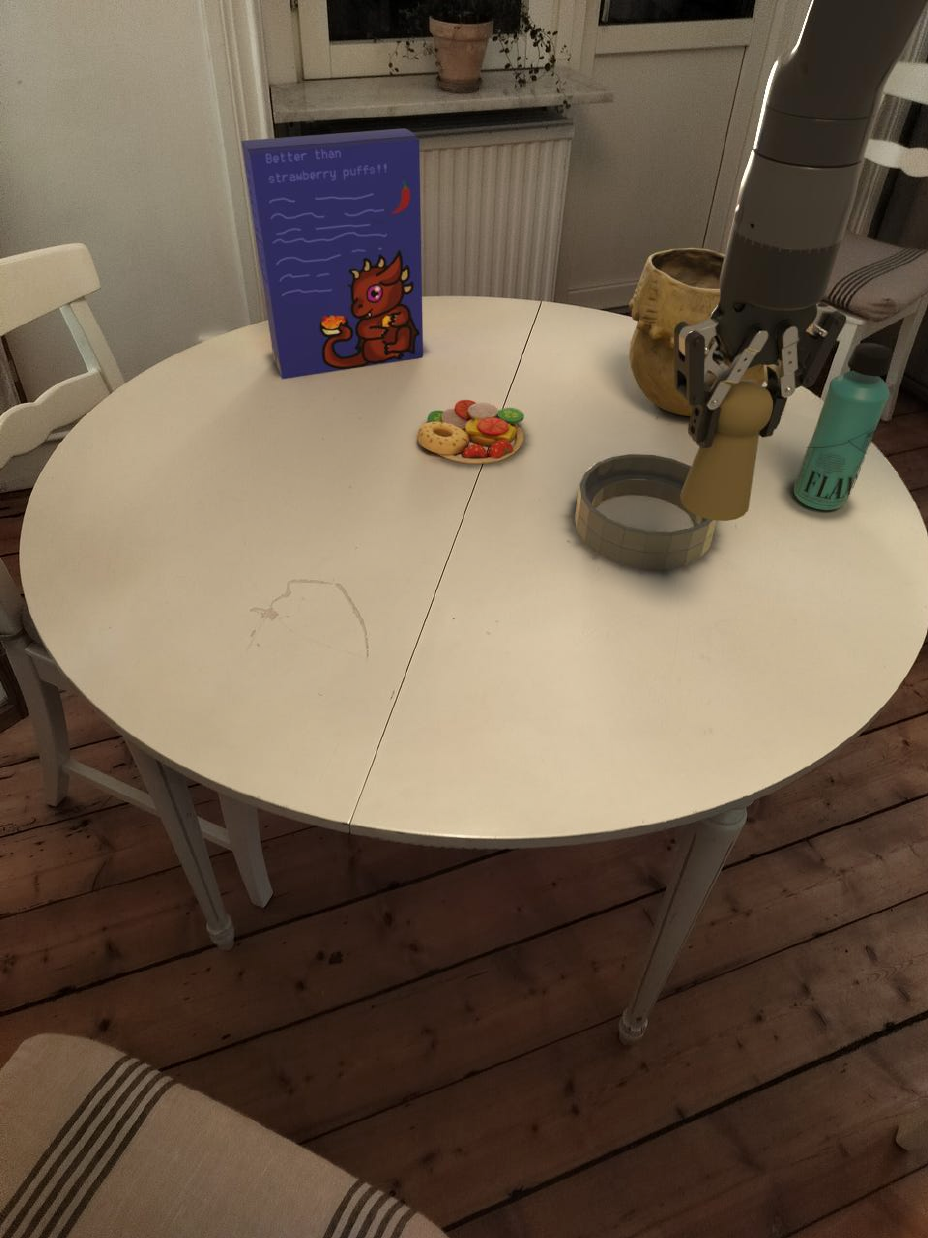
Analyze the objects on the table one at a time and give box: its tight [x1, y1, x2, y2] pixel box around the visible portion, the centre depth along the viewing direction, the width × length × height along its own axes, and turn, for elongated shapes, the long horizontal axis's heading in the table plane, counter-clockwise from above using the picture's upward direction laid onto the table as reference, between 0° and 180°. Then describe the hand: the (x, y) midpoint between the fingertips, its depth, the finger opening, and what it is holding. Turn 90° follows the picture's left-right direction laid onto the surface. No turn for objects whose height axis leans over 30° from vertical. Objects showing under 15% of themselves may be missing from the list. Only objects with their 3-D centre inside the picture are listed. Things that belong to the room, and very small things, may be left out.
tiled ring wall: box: [574, 453, 718, 571], centre depth 95 cm, size 16×16×6 cm
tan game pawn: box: [680, 379, 773, 522], centre depth 70 cm, size 6×6×11 cm
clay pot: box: [628, 247, 766, 417], centre depth 111 cm, size 21×21×20 cm
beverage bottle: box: [793, 342, 894, 511], centre depth 94 cm, size 6×7×20 cm
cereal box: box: [240, 127, 424, 380], centre depth 116 cm, size 22×6×30 cm, turn 111°
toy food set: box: [416, 399, 525, 465], centre depth 109 cm, size 13×13×3 cm
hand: (731, 436), depth 70 cm, fingers closed on tan game pawn, 5 cm apart
